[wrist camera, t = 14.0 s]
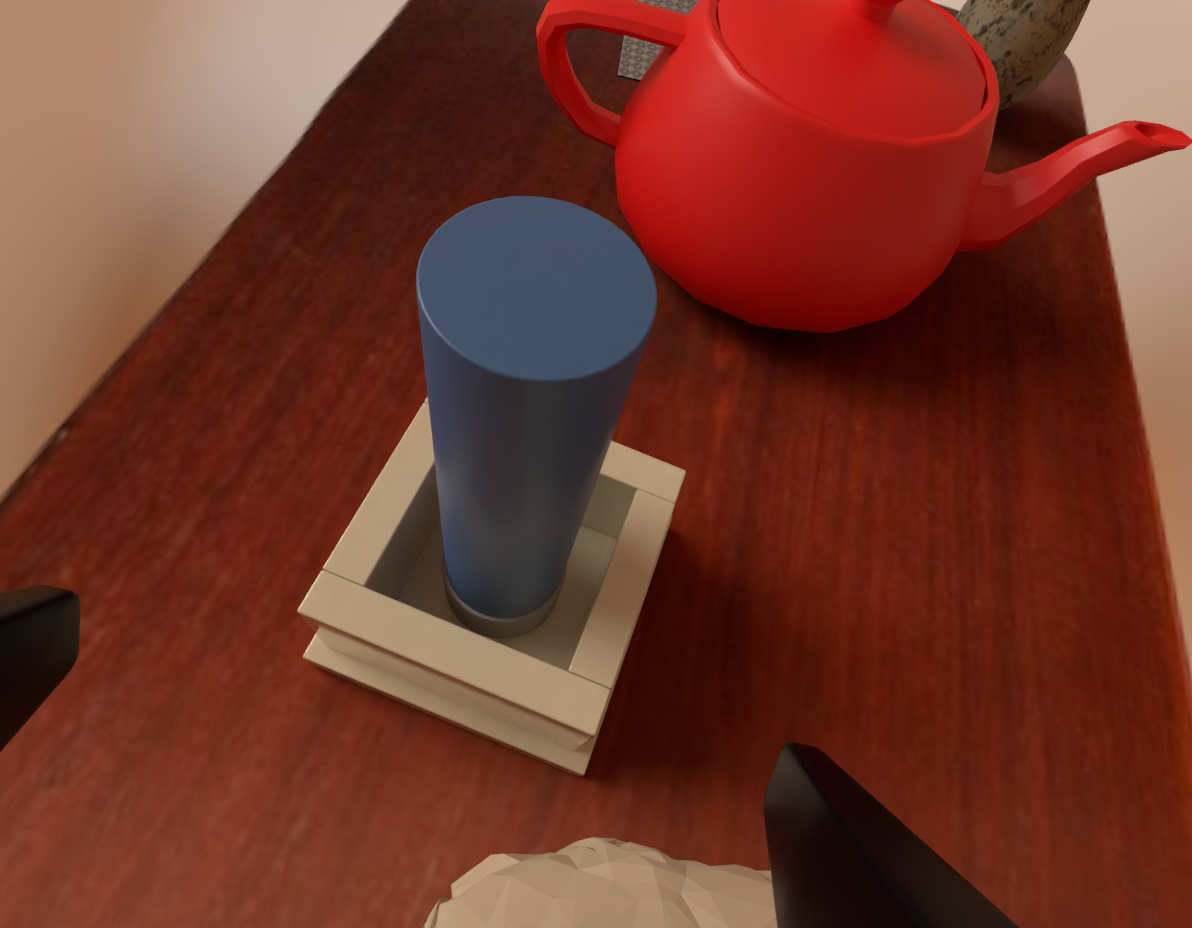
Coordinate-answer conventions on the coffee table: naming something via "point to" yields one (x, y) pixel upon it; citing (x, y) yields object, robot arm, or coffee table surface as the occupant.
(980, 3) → the decorative egg
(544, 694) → the holder
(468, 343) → the cylinder
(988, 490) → the coffee table surface
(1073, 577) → the coffee table surface
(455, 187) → the coffee table surface
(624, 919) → the model
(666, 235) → the teapot
